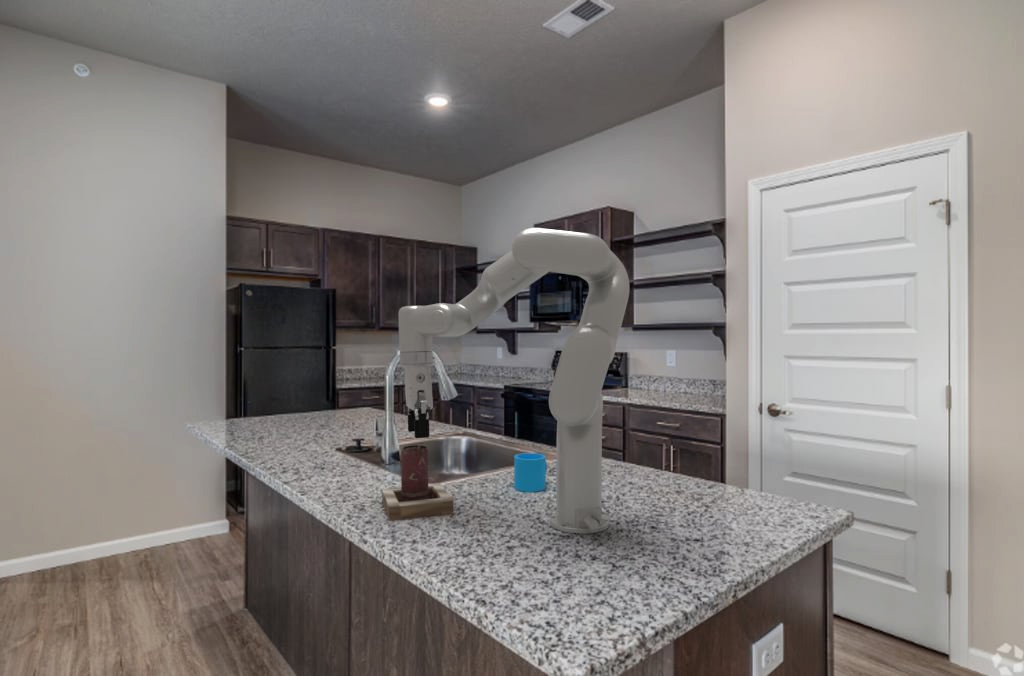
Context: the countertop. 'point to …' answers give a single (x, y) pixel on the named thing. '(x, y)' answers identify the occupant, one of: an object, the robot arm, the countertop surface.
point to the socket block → (417, 504)
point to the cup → (414, 473)
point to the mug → (530, 472)
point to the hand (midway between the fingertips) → (418, 434)
